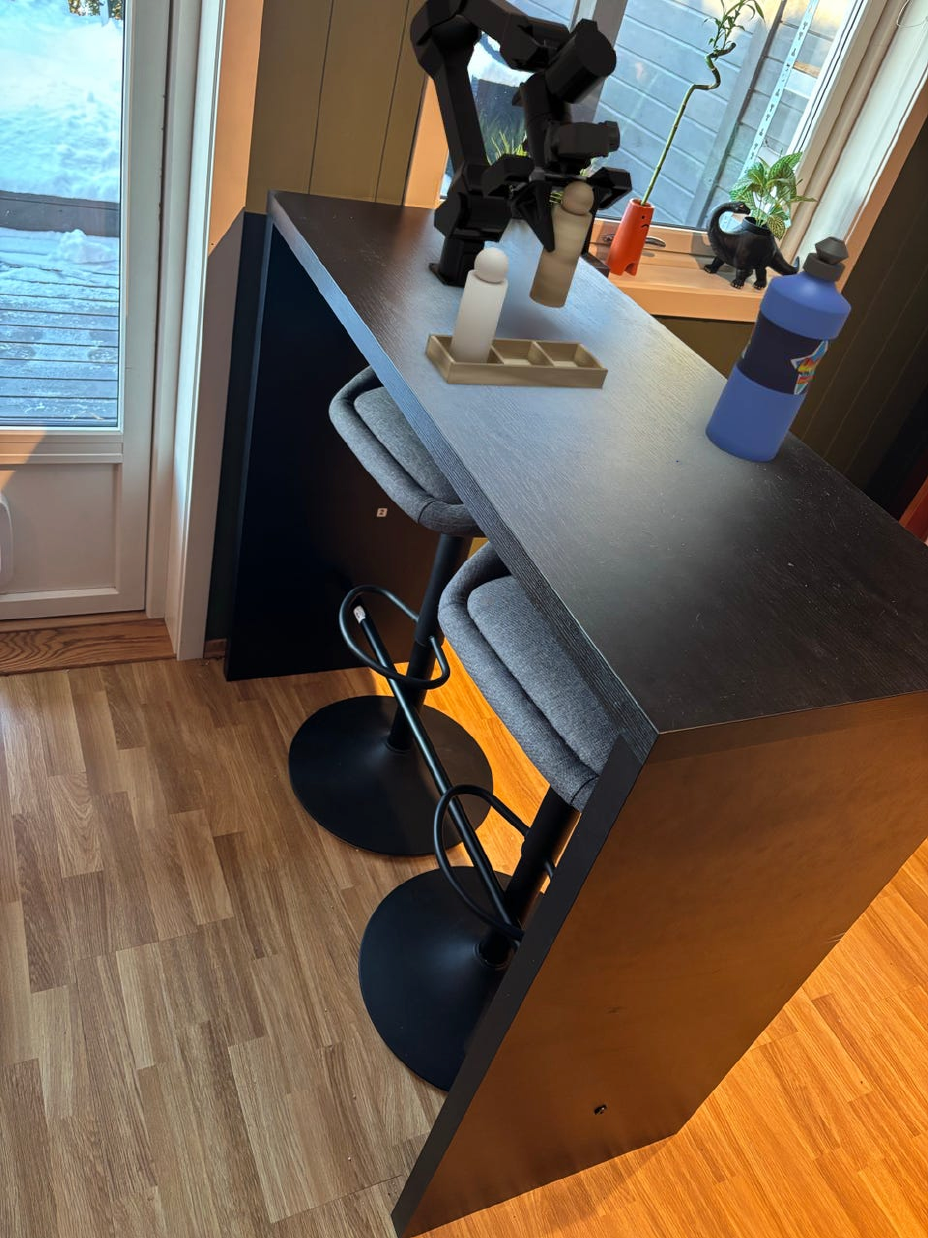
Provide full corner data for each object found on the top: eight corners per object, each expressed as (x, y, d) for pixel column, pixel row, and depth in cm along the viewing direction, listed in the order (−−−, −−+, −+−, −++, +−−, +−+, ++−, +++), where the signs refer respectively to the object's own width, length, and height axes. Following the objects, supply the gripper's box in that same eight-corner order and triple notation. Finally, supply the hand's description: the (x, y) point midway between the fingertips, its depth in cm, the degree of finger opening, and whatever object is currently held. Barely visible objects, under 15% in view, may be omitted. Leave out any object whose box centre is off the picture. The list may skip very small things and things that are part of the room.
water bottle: (789, 453, 118) (892, 254, 103) (752, 469, 112) (856, 260, 97) (728, 417, 123) (819, 220, 107) (690, 430, 117) (780, 224, 101)
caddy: (423, 359, 114) (429, 333, 112) (572, 365, 123) (580, 342, 121) (446, 389, 109) (453, 363, 107) (599, 393, 118) (608, 370, 116)
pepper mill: (526, 289, 121) (560, 171, 112) (560, 295, 122) (596, 180, 113) (532, 303, 117) (568, 183, 109) (567, 310, 119) (605, 192, 110)
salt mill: (439, 358, 113) (469, 238, 104) (474, 360, 115) (505, 242, 106) (454, 377, 110) (486, 255, 101) (489, 378, 112) (523, 258, 103)
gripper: (520, 74, 103) (541, 216, 103) (652, 99, 113) (671, 229, 112) (470, 128, 113) (489, 258, 113) (595, 147, 122) (613, 267, 122)
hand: (568, 252), depth 115 cm, fingers closed on pepper mill, 5 cm apart
